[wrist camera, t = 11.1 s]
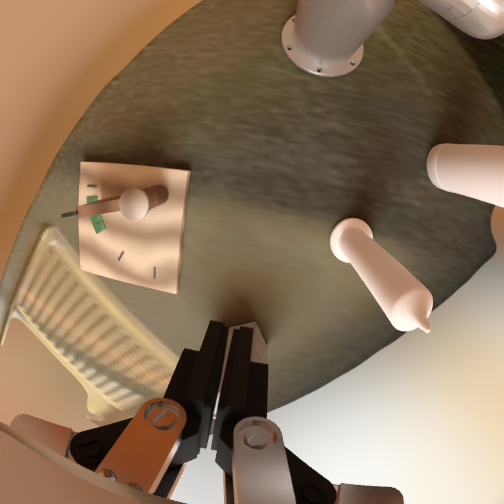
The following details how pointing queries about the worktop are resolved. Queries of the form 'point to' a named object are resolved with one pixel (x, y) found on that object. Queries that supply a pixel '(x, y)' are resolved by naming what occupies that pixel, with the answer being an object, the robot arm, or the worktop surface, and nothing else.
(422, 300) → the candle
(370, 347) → the worktop surface
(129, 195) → the peg
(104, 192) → the tuner plate
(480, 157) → the bottle
